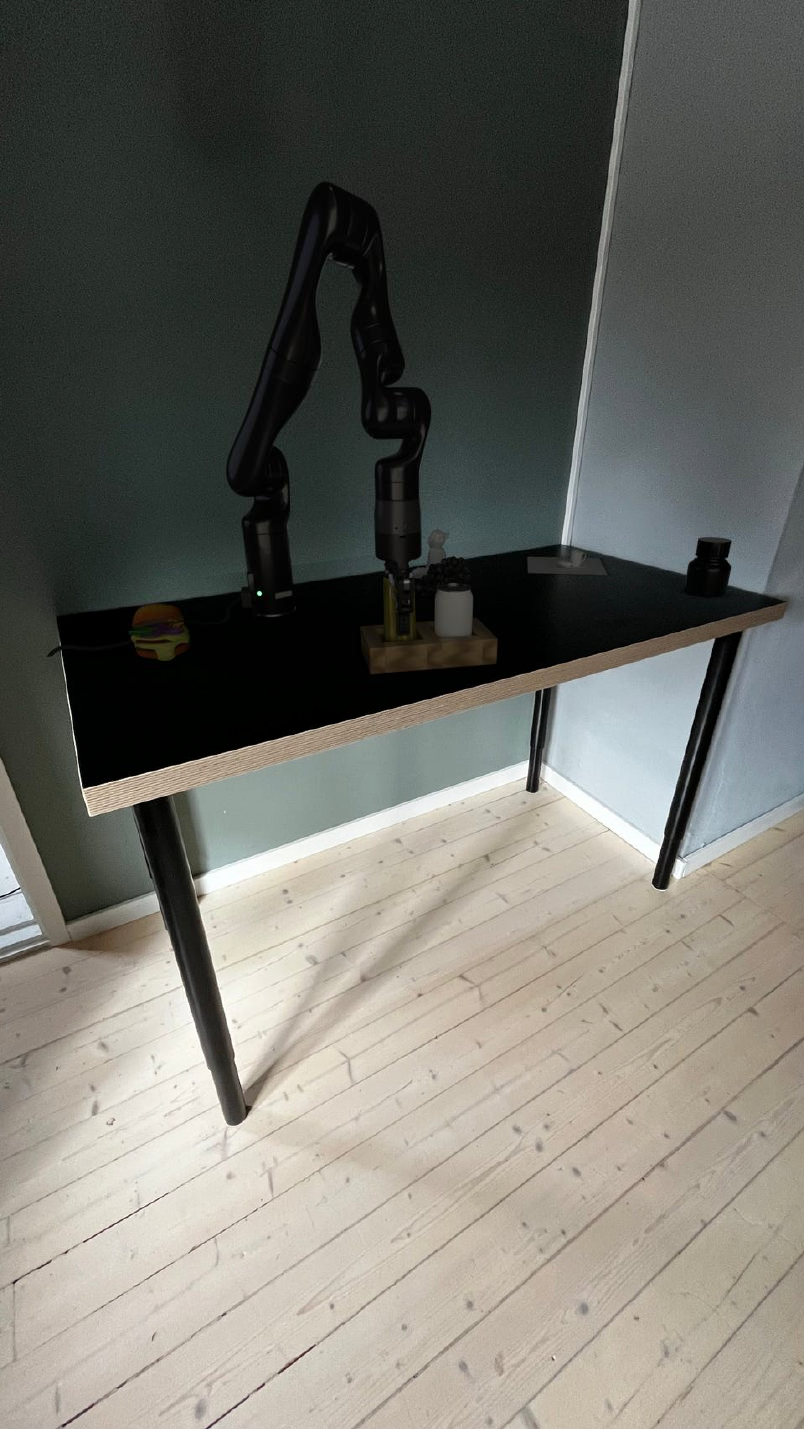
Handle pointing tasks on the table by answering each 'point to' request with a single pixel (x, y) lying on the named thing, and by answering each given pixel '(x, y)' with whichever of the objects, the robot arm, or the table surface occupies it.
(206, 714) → the table surface
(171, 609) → the cheeseburger
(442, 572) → the fruit
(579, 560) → the teacup and saucer
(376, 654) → the holder
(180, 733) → the table surface
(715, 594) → the ink bottle
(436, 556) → the sitting furry creature
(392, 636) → the vase
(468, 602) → the can
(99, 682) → the table surface
